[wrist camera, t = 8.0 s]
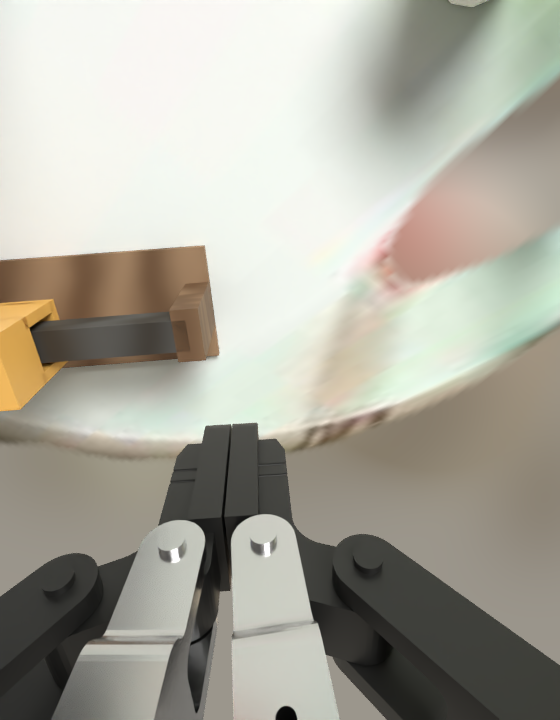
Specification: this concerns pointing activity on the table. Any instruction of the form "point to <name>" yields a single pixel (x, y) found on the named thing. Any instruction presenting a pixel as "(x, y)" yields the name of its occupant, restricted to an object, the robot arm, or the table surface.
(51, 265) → the wooden slider rail stand
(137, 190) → the table surface
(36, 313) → the yellow slider block
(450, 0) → the white cup
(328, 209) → the table surface
